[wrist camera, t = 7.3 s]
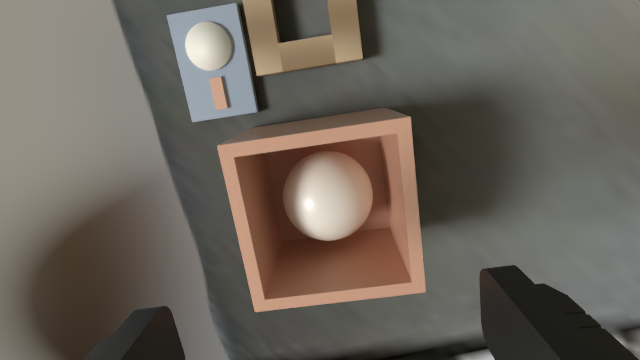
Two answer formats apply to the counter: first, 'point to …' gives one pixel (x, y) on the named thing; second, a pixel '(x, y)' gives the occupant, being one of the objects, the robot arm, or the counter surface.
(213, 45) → the tile
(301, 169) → the ball
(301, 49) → the stand
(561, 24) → the counter surface
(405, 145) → the open box
